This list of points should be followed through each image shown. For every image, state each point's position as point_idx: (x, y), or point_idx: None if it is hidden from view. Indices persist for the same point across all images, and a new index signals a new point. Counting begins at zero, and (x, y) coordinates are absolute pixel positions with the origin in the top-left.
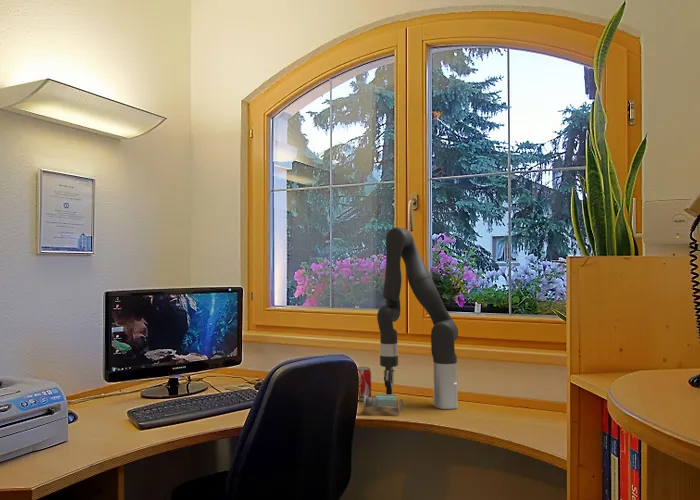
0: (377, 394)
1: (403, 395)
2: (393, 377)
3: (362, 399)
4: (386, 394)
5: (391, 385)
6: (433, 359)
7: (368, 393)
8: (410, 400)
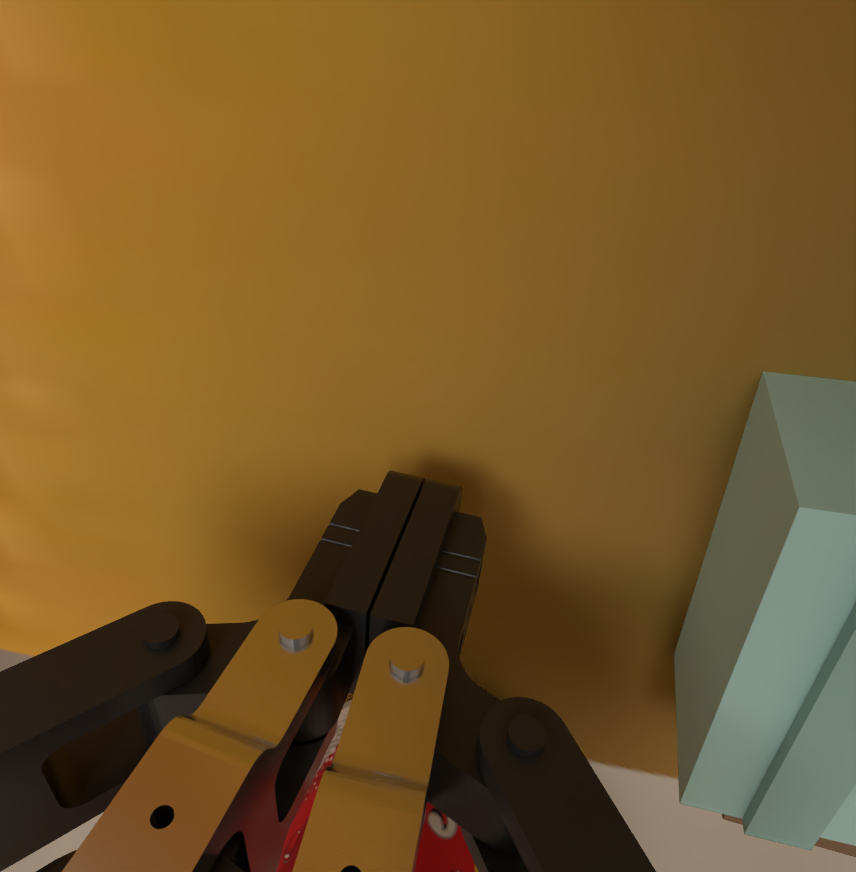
0: (776, 826)
1: (9, 180)
2: (163, 848)
3: None
4: (817, 713)
5: (539, 743)
6: None
7: None
8: (405, 2)
